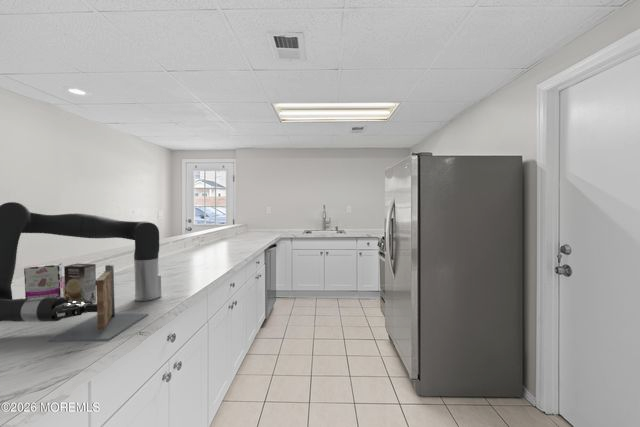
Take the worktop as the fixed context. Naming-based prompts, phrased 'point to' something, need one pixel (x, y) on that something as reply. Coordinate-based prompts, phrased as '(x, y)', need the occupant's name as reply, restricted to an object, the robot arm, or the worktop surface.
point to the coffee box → (80, 282)
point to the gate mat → (91, 333)
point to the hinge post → (109, 268)
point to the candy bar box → (43, 281)
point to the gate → (104, 299)
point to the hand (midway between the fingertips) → (100, 307)
